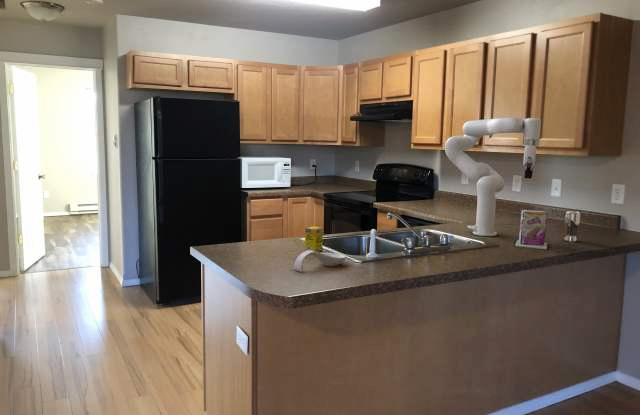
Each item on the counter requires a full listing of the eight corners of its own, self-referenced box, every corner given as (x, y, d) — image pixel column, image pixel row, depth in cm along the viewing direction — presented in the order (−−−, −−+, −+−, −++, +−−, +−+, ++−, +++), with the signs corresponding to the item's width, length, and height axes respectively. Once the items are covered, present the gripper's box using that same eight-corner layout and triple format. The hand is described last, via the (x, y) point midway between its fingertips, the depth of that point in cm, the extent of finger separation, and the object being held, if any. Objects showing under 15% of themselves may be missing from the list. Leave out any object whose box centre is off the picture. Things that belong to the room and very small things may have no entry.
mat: (515, 246, 247) (515, 245, 247) (516, 241, 260) (516, 240, 260) (546, 249, 242) (546, 248, 241) (546, 244, 254) (547, 242, 254)
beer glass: (571, 242, 259) (574, 213, 257) (559, 240, 265) (562, 211, 263) (580, 241, 262) (583, 212, 260) (568, 239, 268) (571, 210, 266)
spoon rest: (331, 259, 215) (331, 242, 214) (351, 265, 206) (352, 247, 205) (287, 268, 199) (288, 250, 198) (307, 275, 190) (308, 256, 189)
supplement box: (315, 254, 224) (316, 229, 222) (304, 252, 227) (304, 228, 225) (322, 251, 229) (323, 227, 227) (311, 249, 232) (312, 226, 230)
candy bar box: (520, 244, 249) (522, 211, 247) (518, 242, 254) (521, 209, 252) (544, 245, 247) (547, 212, 245) (542, 243, 252) (545, 210, 250)
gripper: (523, 142, 264) (521, 176, 266) (522, 143, 248) (519, 178, 250) (539, 143, 261) (536, 176, 263) (538, 143, 245) (536, 179, 247)
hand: (528, 177), depth 257 cm, fingers open, 9 cm apart
